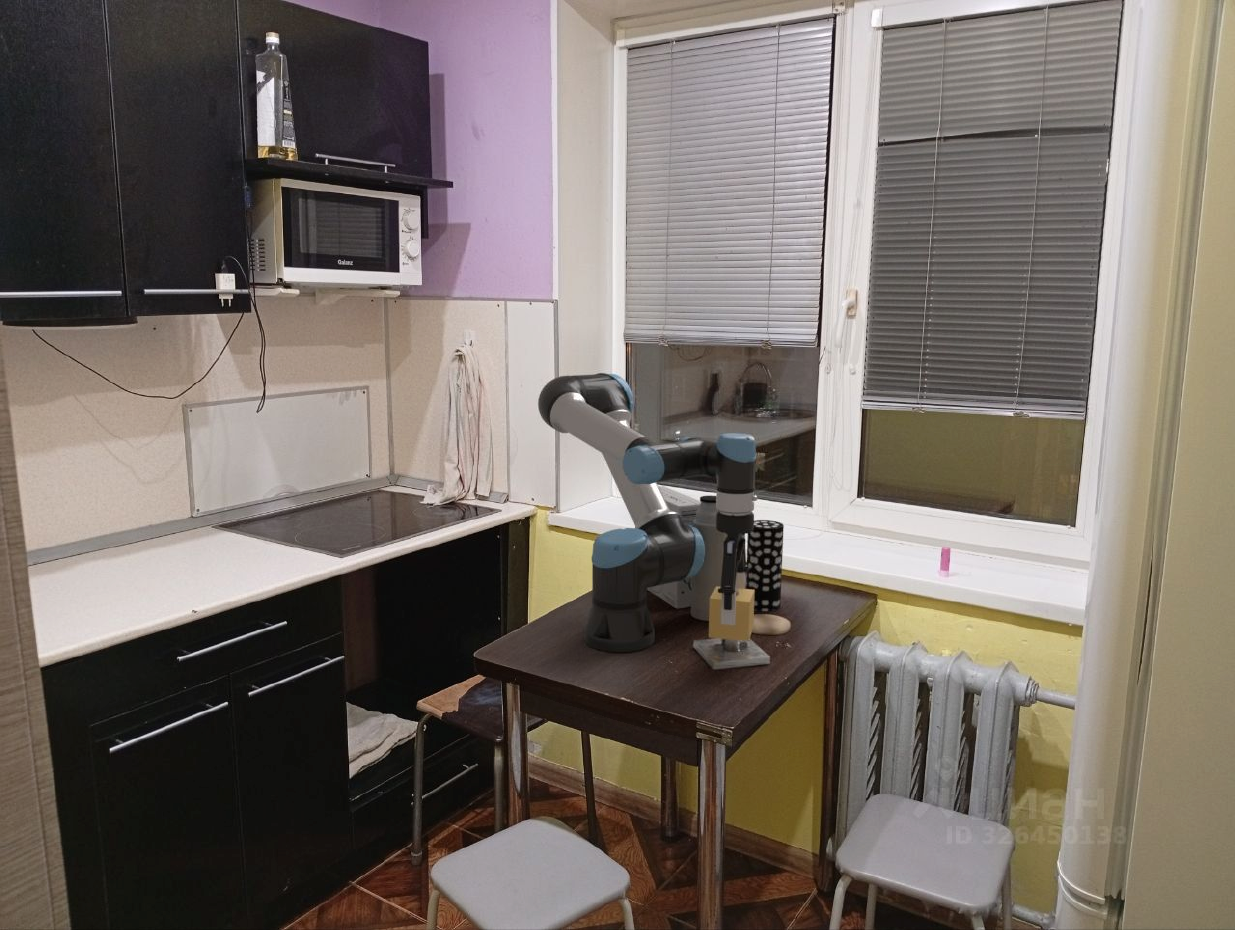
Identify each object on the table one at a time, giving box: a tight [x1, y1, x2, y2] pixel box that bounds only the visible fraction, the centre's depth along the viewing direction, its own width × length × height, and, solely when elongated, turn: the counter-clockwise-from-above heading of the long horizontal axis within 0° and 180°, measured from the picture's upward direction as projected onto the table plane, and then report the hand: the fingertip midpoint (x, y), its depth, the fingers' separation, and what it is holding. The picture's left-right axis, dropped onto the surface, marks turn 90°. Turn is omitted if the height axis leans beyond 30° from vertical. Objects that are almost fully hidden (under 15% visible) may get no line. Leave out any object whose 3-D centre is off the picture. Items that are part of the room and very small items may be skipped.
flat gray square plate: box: [692, 637, 771, 670], centre depth 188 cm, size 12×12×12 cm
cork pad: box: [751, 613, 792, 636], centre depth 206 cm, size 11×11×1 cm
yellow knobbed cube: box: [708, 586, 755, 641], centre depth 188 cm, size 8×8×9 cm
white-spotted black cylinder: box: [745, 519, 785, 612], centre depth 218 cm, size 8×8×20 cm
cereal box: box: [647, 485, 701, 610], centre depth 226 cm, size 22×8×25 cm, turn 25°
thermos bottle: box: [690, 495, 727, 622], centre depth 211 cm, size 8×8×28 cm
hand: (732, 613), depth 187 cm, fingers open, 13 cm apart
